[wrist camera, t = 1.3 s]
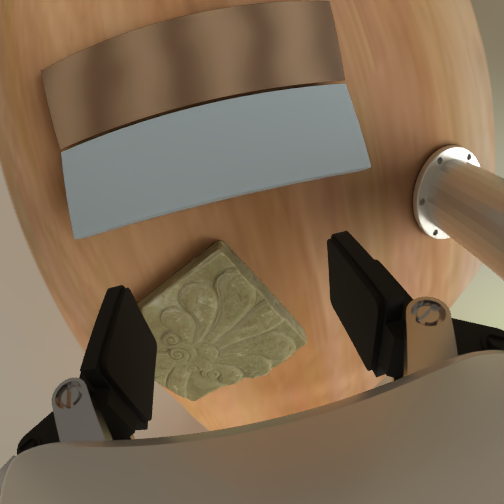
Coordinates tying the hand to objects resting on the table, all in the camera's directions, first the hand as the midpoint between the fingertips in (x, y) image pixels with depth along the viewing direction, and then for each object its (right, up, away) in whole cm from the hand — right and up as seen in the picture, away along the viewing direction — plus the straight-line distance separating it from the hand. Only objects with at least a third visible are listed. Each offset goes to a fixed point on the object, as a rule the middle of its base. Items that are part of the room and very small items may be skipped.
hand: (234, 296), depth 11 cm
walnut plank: (-5, +18, +12) cm, 22 cm away
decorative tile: (-5, -8, +27) cm, 29 cm away
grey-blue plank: (-3, +10, +14) cm, 18 cm away
